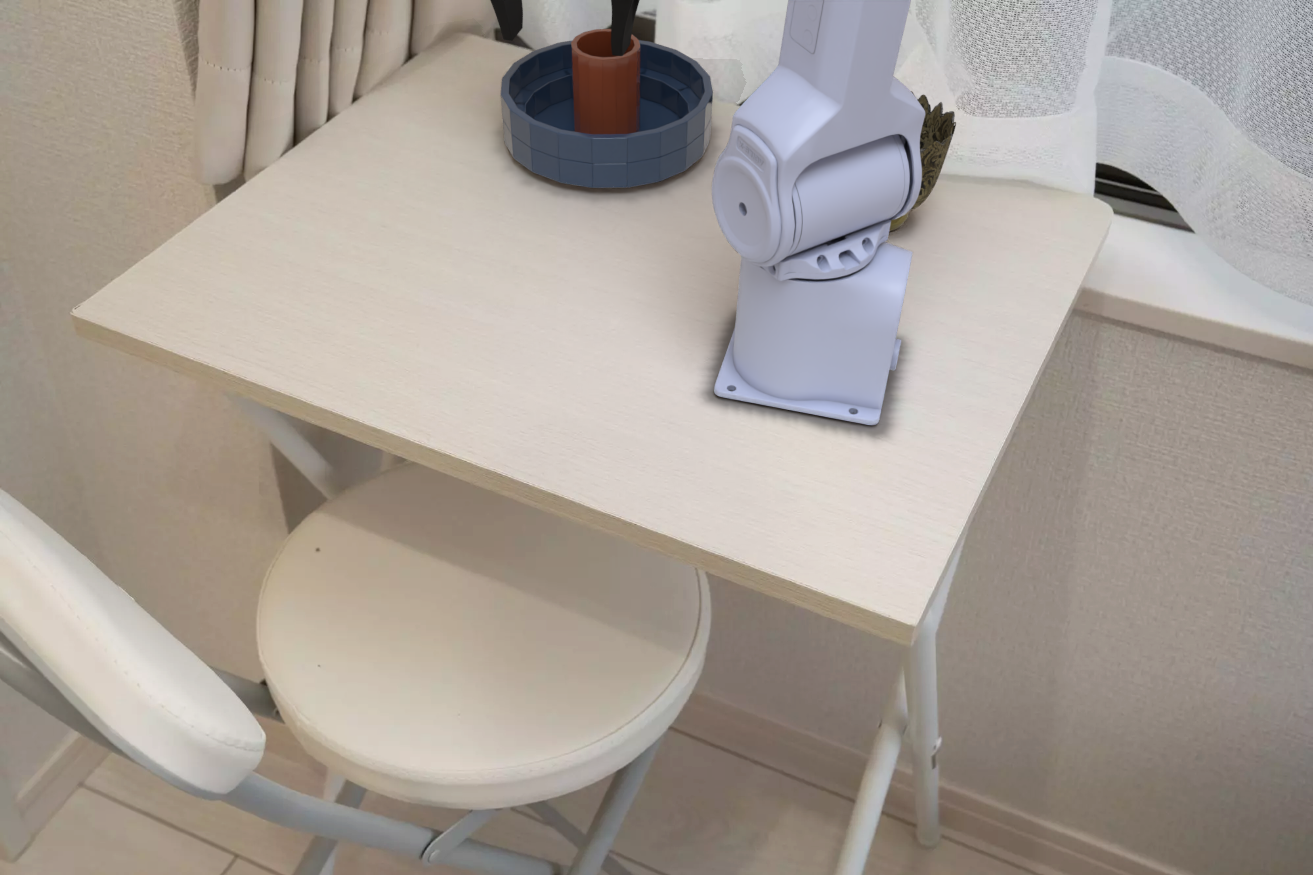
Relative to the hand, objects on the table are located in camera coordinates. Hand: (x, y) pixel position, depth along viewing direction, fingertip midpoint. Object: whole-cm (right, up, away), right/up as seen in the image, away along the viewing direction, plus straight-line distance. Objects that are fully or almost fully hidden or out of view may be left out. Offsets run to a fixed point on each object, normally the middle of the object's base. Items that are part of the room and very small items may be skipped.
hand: (566, 41), depth 79 cm
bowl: (+2, -4, +9) cm, 10 cm away
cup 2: (+21, -12, +2) cm, 25 cm away
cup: (+2, -4, +9) cm, 10 cm away
